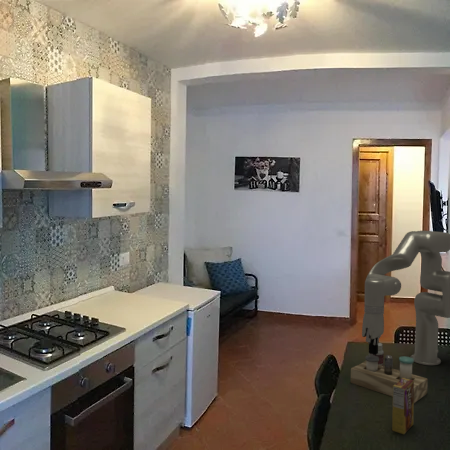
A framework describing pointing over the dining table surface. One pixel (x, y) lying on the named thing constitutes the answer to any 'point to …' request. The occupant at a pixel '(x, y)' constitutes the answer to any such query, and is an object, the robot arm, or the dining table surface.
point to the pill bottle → (380, 354)
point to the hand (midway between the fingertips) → (373, 353)
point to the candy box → (403, 405)
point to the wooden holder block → (385, 380)
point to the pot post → (388, 365)
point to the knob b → (406, 367)
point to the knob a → (372, 363)
